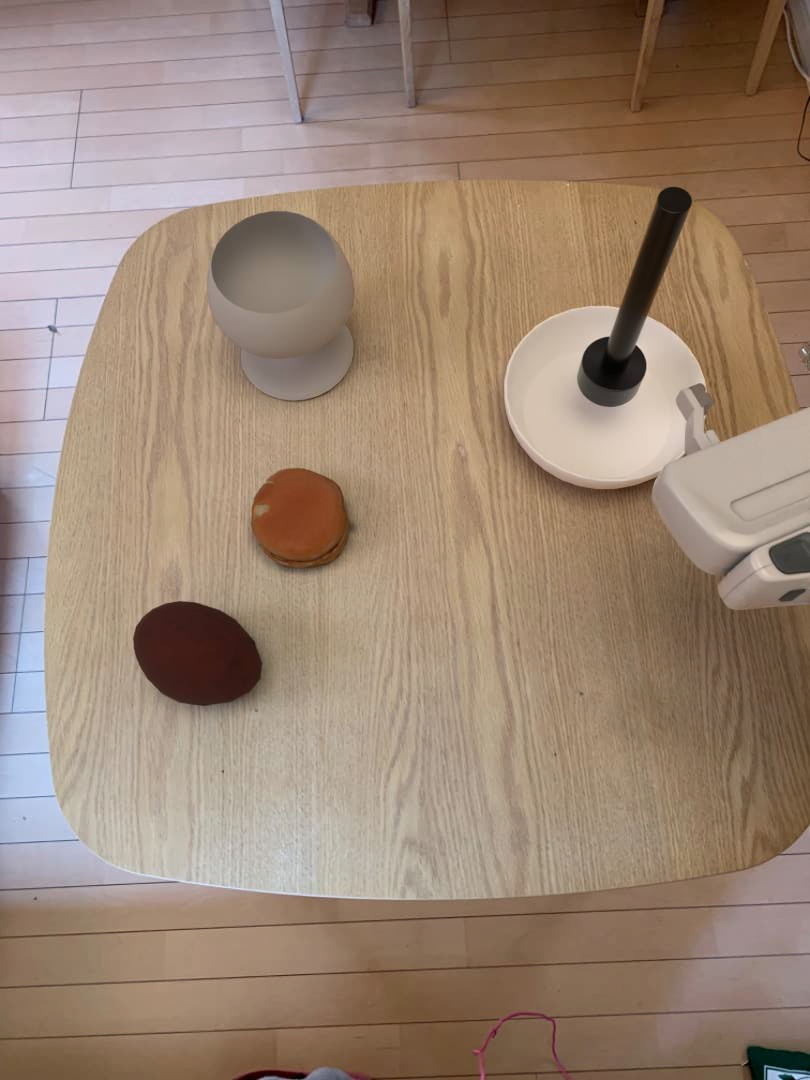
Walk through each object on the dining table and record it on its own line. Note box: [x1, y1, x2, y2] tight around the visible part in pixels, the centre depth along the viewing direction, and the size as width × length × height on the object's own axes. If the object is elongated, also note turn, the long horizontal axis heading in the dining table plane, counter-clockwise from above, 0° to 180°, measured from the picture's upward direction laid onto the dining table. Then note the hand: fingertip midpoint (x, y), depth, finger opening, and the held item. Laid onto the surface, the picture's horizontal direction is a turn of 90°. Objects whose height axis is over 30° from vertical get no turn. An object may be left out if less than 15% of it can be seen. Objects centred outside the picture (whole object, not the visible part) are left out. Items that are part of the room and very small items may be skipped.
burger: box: [250, 467, 350, 569], centre depth 82 cm, size 10×9×5 cm
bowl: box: [503, 305, 708, 490], centre depth 85 cm, size 20×20×6 cm
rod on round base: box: [577, 186, 693, 407], centre depth 71 cm, size 6×6×24 cm
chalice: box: [206, 210, 355, 401], centre depth 84 cm, size 14×14×15 cm
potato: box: [132, 600, 263, 707], centre depth 75 cm, size 9×12×9 cm
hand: (749, 366), depth 57 cm, fingers open, 8 cm apart
